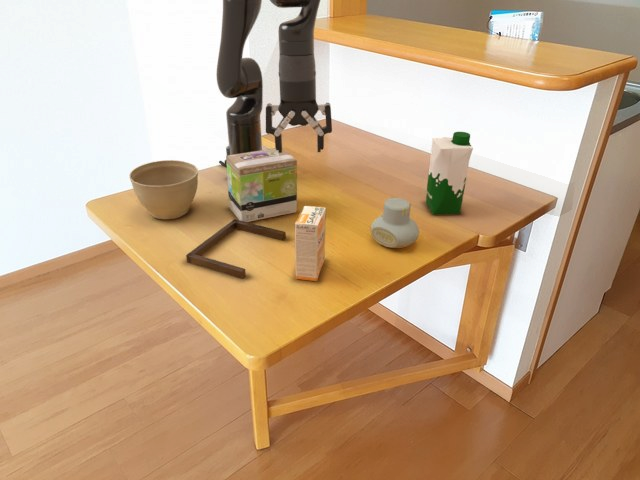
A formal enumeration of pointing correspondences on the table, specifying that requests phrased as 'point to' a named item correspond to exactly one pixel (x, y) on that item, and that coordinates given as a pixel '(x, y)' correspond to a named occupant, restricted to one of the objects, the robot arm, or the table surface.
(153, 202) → the planter bowl
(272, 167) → the tea box
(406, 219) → the air freshener
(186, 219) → the table surface
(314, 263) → the supplement box
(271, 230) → the bay
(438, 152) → the milk carton
